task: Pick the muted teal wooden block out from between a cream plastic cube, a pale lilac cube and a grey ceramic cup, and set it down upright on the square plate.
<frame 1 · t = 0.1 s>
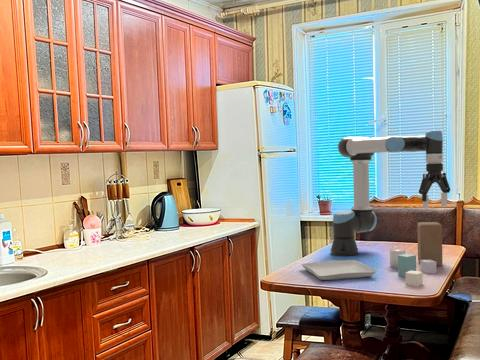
hand: (435, 207, 236), 28 cm above the table, fingers open, 13 cm apart
block: (430, 264, 240), on the table
teal block: (407, 275, 218), on the table
cream cube: (414, 284, 203), on the table
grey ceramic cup: (397, 266, 236), on the table
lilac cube: (428, 271, 224), on the table
square plate: (337, 275, 225), on the table
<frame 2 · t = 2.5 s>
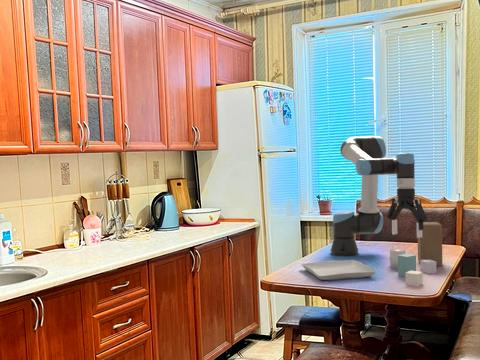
hand: (406, 235, 218), 18 cm above the table, fingers open, 13 cm apart
nothing on the table moved.
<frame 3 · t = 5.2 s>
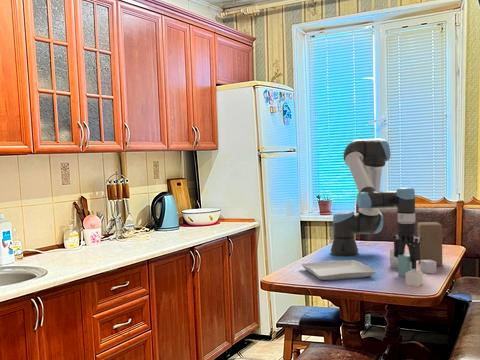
hand: (407, 274, 218), 0 cm above the table, fingers closed on teal block, 5 cm apart
teal block: (407, 275, 218), on the table, touching gripper
everything else where it was.
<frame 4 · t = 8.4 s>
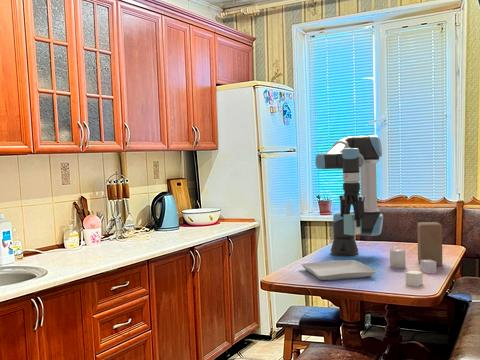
hand: (352, 233, 223), 19 cm above the table, fingers closed on teal block, 5 cm apart
teal block: (352, 234, 223), point 18 cm above the table, touching gripper
everything else where it was.
when the fingers open (6 cm above the table, at t = 11.7 s): teal block drops 2 cm, resting on square plate.
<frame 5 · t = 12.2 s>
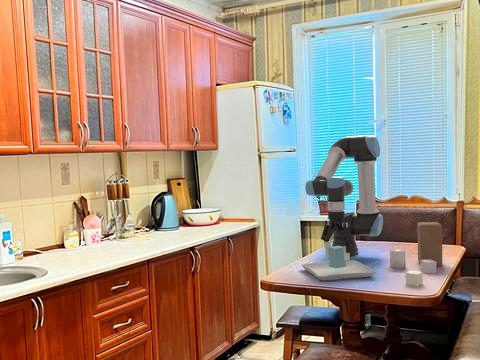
hand: (337, 257, 225), 7 cm above the table, fingers open, 12 cm apart
teal block: (337, 266, 225), point 3 cm above the table, touching square plate
square plate: (337, 275, 225), on the table, touching teal block
everything else where it was.
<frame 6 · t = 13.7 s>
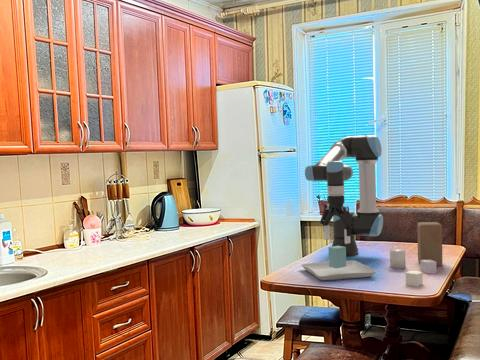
hand: (337, 241, 225), 15 cm above the table, fingers open, 13 cm apart
nothing on the table moved.
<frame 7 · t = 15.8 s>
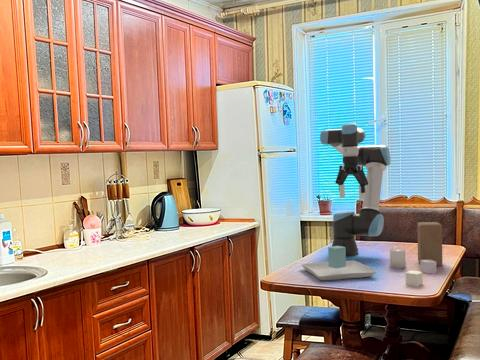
hand: (351, 198, 242), 33 cm above the table, fingers open, 13 cm apart
nothing on the table moved.
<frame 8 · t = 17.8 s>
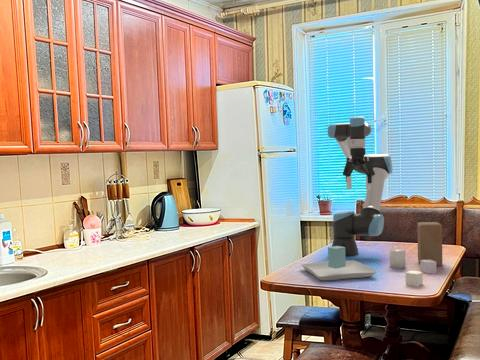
hand: (358, 189, 250), 37 cm above the table, fingers open, 13 cm apart
nothing on the table moved.
at the end: teal block 0.3 cm from the square plate (horizontally); teal block touching square plate; the gripper is holding nothing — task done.
